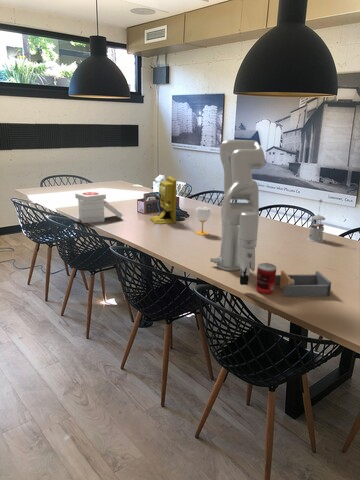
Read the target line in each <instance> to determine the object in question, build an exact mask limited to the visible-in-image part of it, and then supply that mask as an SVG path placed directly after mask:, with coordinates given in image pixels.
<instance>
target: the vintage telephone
mask: <svg viewBox="0 0 360 480" xmlns="http://www.w3.org/2000/svg"><path fill="white" fill-rule="evenodd" d="M158 186H159V187H158V193H159V201H158V202H159V204H160V207H159V208H158V210H157V211H156V213H158V211H159V210H160V209H161V208H162V209H163V210H162V212H161V213H159V215H153V216H151V217H150V218H149V219H150V220H151V221H152V222H153V223H154V224H155V225H165V224H167V225H168V224H173V225H175V224H176V216H177V213H176V212H177V211H176V210H177V208H176V207H177V179H176V178H173V176H170V175H169V176H167V177H166V181H165V180H161V181H160V183H159V184H158Z"/></svg>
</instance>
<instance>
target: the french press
mask: <svg viewBox="0 0 360 480" xmlns="http://www.w3.org/2000/svg"><path fill="white" fill-rule="evenodd" d="M318 202H319V204H321V203H322V202H323V199H318ZM320 209H321V207H319V208H318V211H320ZM310 218H311V220H314V221H317V222H312V223H311V225H310V227H309V233H308V237H307V238H306V240H307V241H309V242H313V243H323V242H324V239H323V238H324V237H323V236H324V229H325V227H324V224H323V223H322V221H325V220H326V218H325V217H324V216H322V215H320V214H317V215H313V216H311V217H310ZM319 222H320V223H319Z"/></svg>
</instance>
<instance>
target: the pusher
mask: <svg viewBox="0 0 360 480" xmlns="http://www.w3.org/2000/svg"><path fill="white" fill-rule="evenodd" d="M280 275H281V277H280V285H279V287H280V288H281V289H282V290H283V287H284V285H294V283H295V282H294V279H291V278H290V277H289V276H288V275H289V274H287V272H286V271H285V270H280Z"/></svg>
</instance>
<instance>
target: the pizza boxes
mask: <svg viewBox="0 0 360 480" xmlns="http://www.w3.org/2000/svg"><path fill="white" fill-rule="evenodd" d="M74 194H75V195H74V197H75V199H77V200H78V201H77V202H78V205H77V206H78V218H79V219H80V220H79V221H81V223H82V224H86V223H101V222H102V223H103V222H105V208H106V209H107V210H108V211H110V212H111V213H112V214H114V215H115V216H116V217H118V218H120V219H121V218H122V216H124V214H123V213H122V212H121V211H119V210H118V208H116V207H114V206H113V205H112V204H110V202H108V201H107V200H106V199H107V196H106V195H107V194H105V193H101V192H99V191H95V190H93V191H87V192H86V191H83V192H76V193H74Z"/></svg>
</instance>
